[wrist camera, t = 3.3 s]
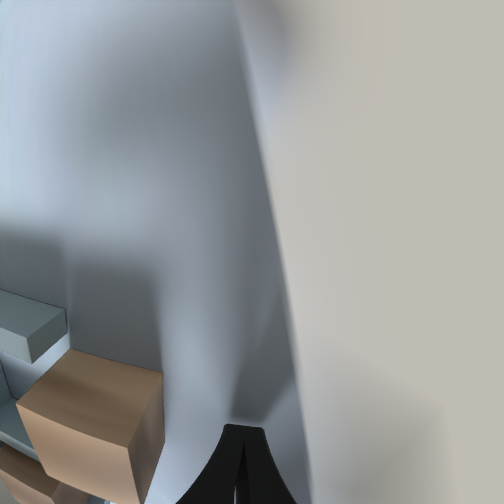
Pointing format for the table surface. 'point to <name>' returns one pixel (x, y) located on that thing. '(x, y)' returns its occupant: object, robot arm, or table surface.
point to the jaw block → (97, 425)
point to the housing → (26, 359)
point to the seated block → (34, 481)
